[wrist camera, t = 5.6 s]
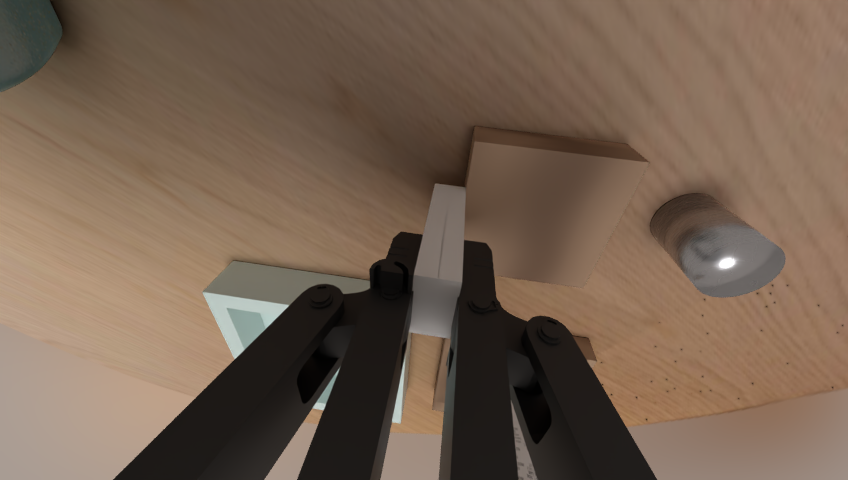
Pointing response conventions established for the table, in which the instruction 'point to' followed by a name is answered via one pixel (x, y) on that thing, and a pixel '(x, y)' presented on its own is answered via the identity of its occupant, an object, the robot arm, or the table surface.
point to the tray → (275, 308)
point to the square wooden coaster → (547, 201)
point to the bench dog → (715, 246)
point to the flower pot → (26, 39)
